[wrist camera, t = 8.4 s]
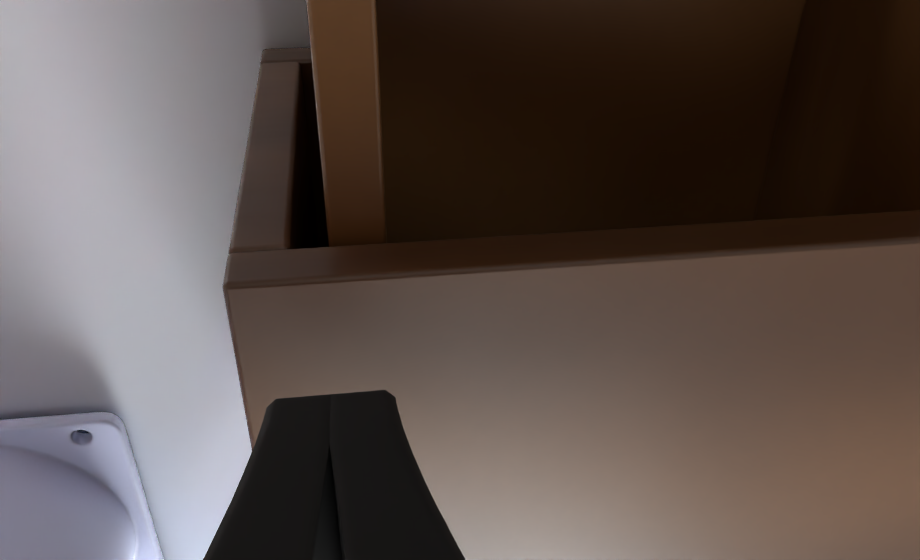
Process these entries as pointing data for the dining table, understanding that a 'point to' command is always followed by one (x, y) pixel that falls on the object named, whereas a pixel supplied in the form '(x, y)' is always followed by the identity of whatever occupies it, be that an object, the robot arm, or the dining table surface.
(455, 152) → the drawer
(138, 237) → the dining table surface
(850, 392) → the cabinet
